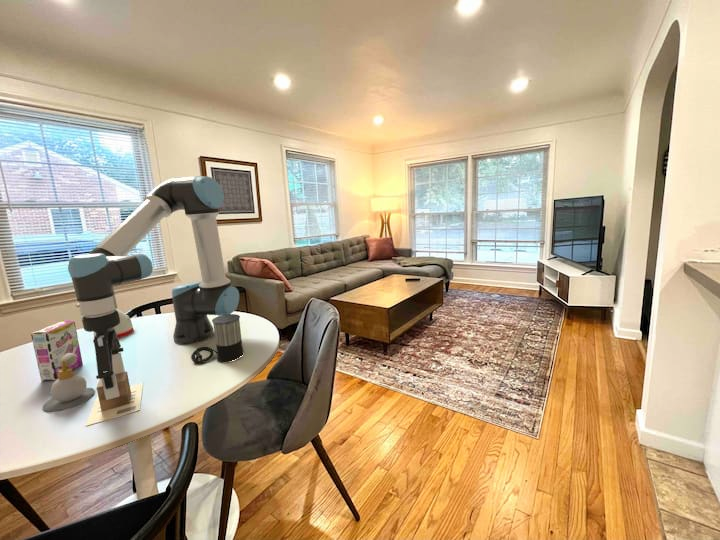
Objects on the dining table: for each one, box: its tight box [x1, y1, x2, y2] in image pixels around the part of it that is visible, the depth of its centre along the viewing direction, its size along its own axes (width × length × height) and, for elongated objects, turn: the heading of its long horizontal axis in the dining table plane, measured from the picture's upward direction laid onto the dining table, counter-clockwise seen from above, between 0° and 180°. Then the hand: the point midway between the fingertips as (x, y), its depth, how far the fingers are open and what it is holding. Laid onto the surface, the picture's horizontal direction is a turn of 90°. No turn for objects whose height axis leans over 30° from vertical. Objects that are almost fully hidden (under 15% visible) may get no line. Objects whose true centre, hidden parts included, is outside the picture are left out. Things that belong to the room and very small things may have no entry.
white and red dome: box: [93, 308, 134, 339], centre depth 138 cm, size 14×14×15 cm
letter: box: [85, 382, 144, 427], centre depth 87 cm, size 11×16×1 cm
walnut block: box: [96, 371, 131, 411], centre depth 86 cm, size 6×6×7 cm
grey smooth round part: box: [42, 387, 96, 413], centre depth 89 cm, size 11×11×1 cm
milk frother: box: [190, 313, 244, 364], centre depth 110 cm, size 14×16×15 cm
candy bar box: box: [30, 320, 83, 382], centre depth 104 cm, size 11×5×16 cm, turn 5°
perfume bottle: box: [50, 353, 88, 402], centre depth 88 cm, size 8×10×12 cm
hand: (116, 385), depth 86 cm, fingers open, 13 cm apart
